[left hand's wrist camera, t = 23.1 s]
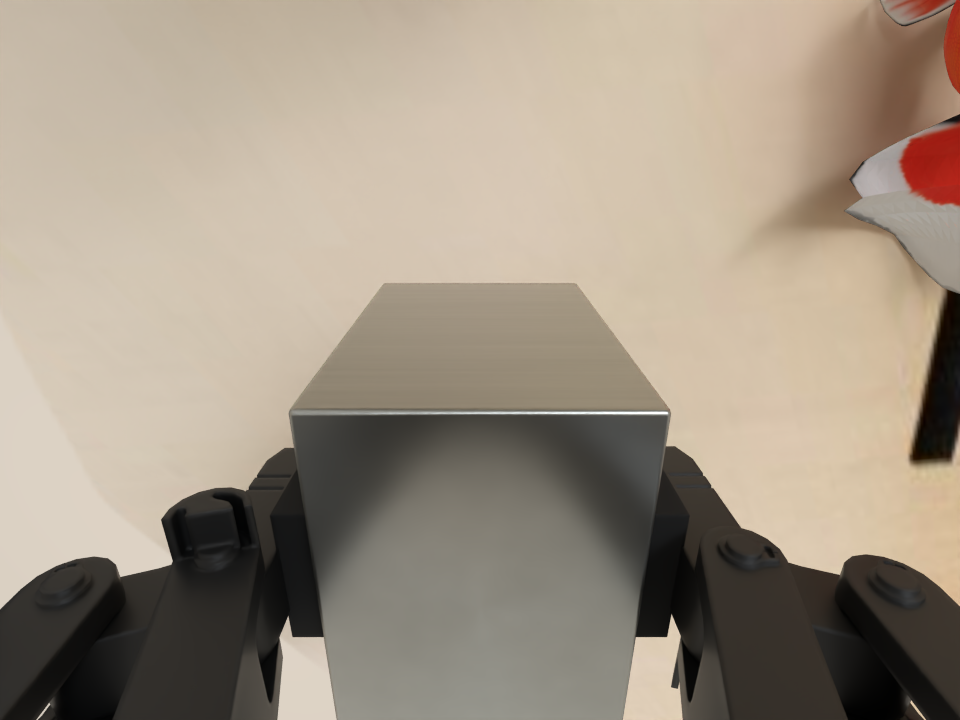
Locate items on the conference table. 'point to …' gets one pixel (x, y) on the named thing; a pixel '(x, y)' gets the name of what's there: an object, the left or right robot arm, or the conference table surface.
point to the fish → (920, 170)
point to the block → (479, 504)
